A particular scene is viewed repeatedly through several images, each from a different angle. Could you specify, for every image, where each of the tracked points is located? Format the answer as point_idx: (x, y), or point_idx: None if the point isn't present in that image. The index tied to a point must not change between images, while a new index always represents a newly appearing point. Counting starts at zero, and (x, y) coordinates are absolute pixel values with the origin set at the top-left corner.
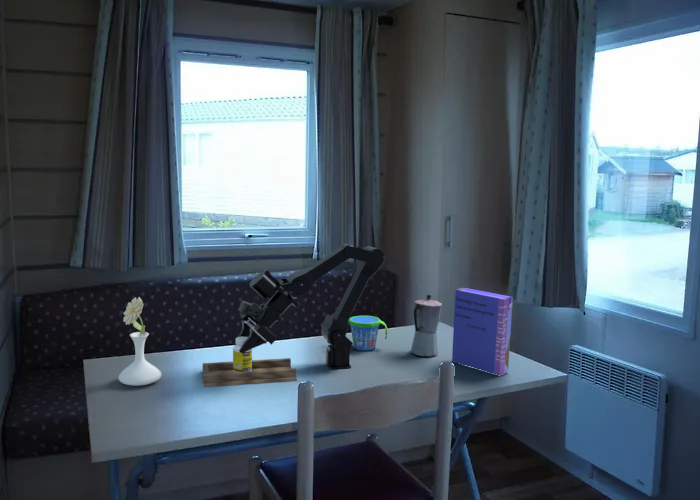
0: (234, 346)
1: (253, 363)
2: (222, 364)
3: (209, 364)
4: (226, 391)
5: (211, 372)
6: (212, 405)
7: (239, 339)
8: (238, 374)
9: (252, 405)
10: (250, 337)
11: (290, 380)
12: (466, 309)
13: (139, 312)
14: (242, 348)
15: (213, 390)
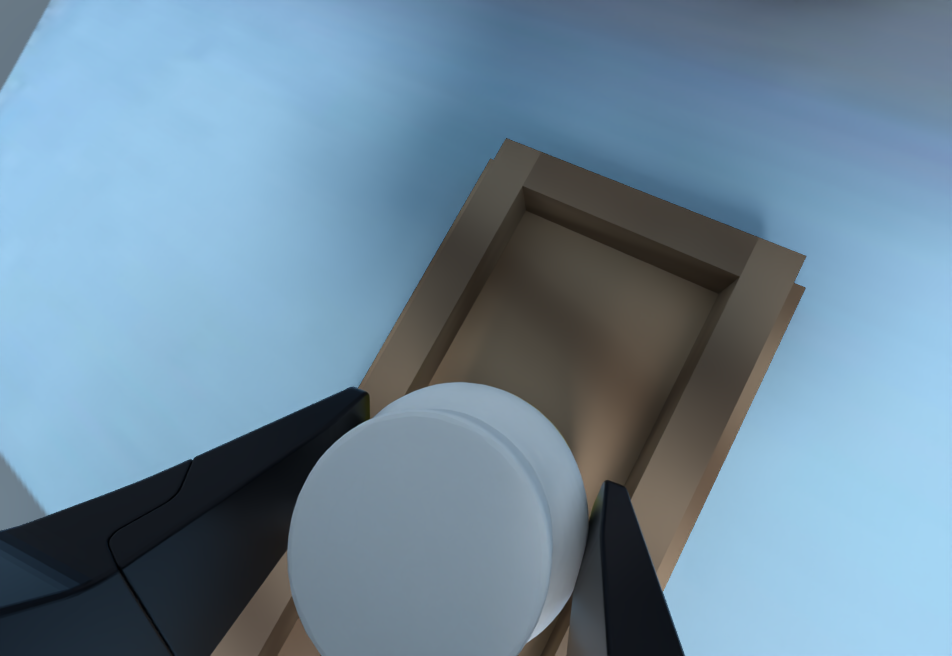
0: (502, 409)
1: (550, 654)
2: (681, 389)
3: (735, 289)
4: (345, 242)
5: (672, 300)
6: (247, 105)
7: (392, 455)
8: (381, 360)
9: (111, 254)
10: (40, 521)
11: None
12: None
13: None
14: (307, 413)
15: (408, 191)
